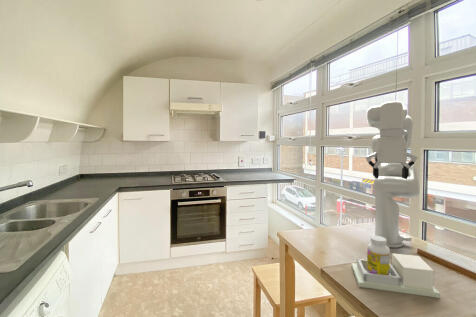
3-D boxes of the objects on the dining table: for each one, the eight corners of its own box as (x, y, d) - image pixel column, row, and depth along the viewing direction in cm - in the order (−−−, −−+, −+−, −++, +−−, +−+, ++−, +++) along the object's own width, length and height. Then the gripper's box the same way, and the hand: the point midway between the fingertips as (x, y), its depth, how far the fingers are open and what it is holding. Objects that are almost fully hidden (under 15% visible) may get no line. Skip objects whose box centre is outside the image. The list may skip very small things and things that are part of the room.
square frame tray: (419, 274, 82) (419, 254, 82) (439, 297, 70) (440, 273, 70) (351, 266, 89) (351, 247, 88) (358, 286, 76) (359, 264, 76)
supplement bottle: (363, 269, 84) (363, 234, 83) (380, 268, 84) (381, 234, 83) (374, 280, 77) (375, 242, 76) (394, 279, 77) (394, 241, 77)
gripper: (412, 134, 91) (411, 177, 92) (363, 135, 96) (363, 176, 97) (421, 133, 84) (420, 180, 85) (368, 134, 89) (368, 179, 90)
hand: (390, 178), depth 91 cm, fingers open, 9 cm apart
